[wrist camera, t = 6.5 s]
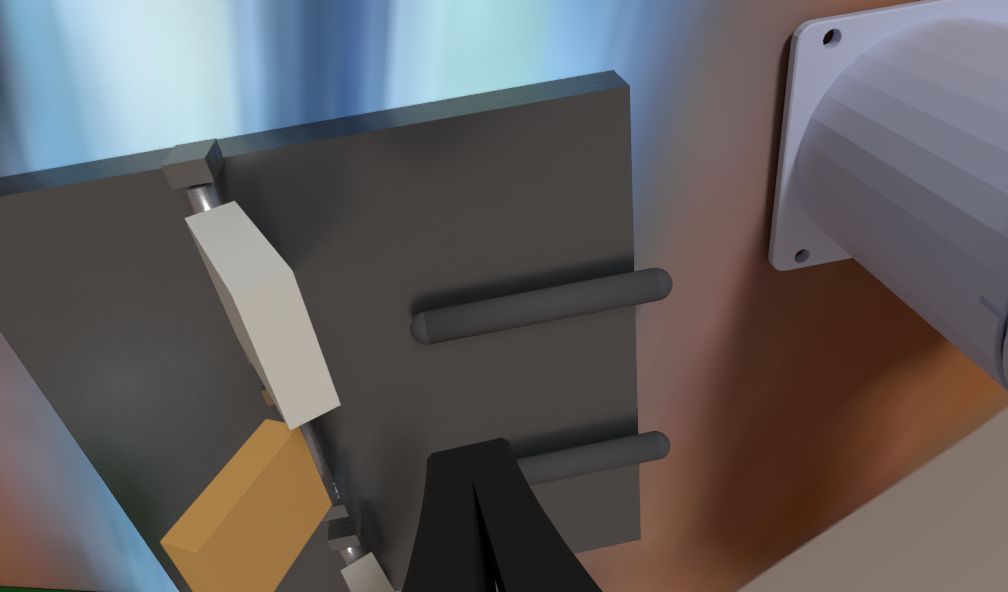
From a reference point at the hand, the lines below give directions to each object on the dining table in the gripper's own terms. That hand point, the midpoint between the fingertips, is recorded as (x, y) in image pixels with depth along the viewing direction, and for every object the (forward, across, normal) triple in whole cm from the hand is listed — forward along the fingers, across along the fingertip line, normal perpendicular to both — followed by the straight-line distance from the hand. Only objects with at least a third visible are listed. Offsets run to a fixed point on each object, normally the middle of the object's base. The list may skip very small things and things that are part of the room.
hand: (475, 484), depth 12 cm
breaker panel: (+10, +3, +6) cm, 12 cm away
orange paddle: (+8, +5, +6) cm, 11 cm away
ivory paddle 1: (+8, +5, -1) cm, 10 cm away
